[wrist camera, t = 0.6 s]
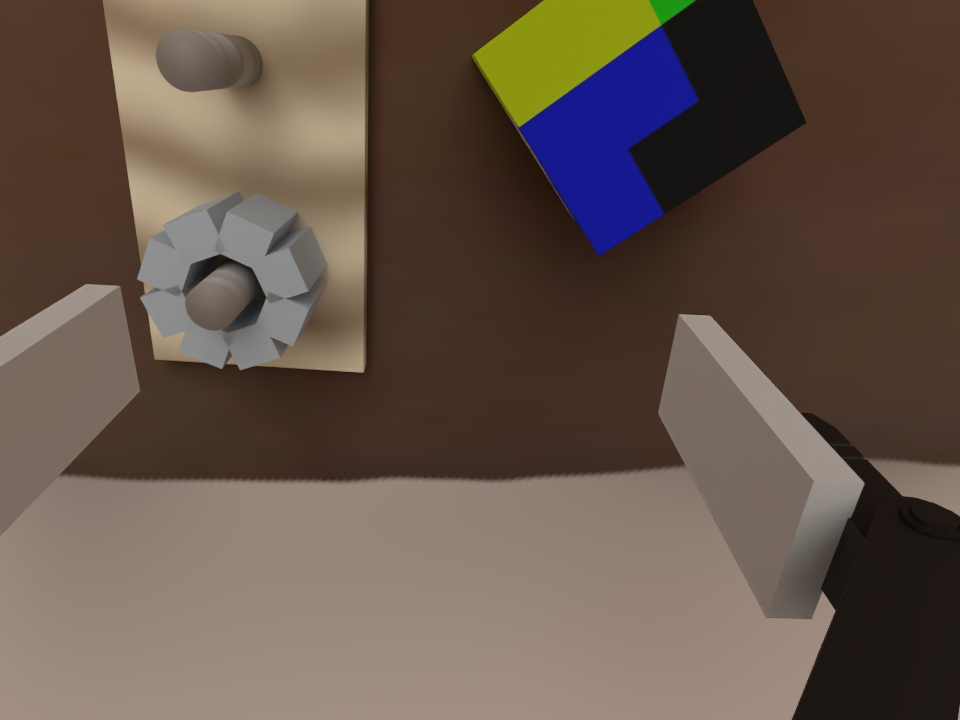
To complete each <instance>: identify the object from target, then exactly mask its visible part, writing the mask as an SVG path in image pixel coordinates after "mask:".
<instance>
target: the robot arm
mask: <svg viewBox="0 0 960 720" xmlns="http://www.w3.org/2000/svg"><path fill="white" fill-rule="evenodd" d="M139 391H140V388H139V383H138V377H137V372H136V367H135V362H134V357H133V351H132V346H131V341H130V336H129V330H128V325H127V320H126V315H125V310H124V304H123V299H122V294H121V289H120V286H110V285H90V284H86V285H84V286H82V287H81V288H79V289H78V290H76V291H74V292H73V293H71V294H69V295H68V296H66V297H64V298H63V299H61V300H59V301H58V302H56V303H55V304H53V305H51V306H50V307H48V308H46V309H45V310H43V311H41V312H40V313H38V314H37V315H35V316H33V317H32V318H30V319H28V320H27V321H25V322H23V323H22V324H20V325H19V326H17V327H15V328H14V329H12V330H10V331H9V332H7V333H5V334H4V335H2V336H1V337H0V536H1V535H2V534H3V533H4V531H5V530H7V528H8V527H9V526H10V525H11V524H12V523H13V522H14V521H15V520H16V519H17V518H18V517H19V516H20V515H21V514H22V513H23V512H24V511H25V510H26V509H27V508H28V507H29V505H31V504H32V502H33V501H34V500H35V499H36V498H37V497H38V496H39V495H40V494H41V493H42V492H43V491H44V490H45V489H46V488H47V487H48V486H49V485H50V484H51V483H52V482H53V481H54V480H55V479H56V478H57V477H58V476H59V474H60V473H61V472H62V471H63V470H64V469H65V468H66V467H67V466H68V465H69V464H70V463H71V462H72V461H73V460H74V459H75V458H76V457H77V456H78V455H79V454H80V453H81V452H82V451H83V450H84V449H85V447H86V446H87V445H88V444H89V443H90V442H91V441H92V440H93V439H94V438H95V437H96V436H97V435H98V434H99V433H100V432H101V431H102V430H103V429H104V428H105V427H106V426H107V425H108V424H109V423H110V422H111V420H112V419H113V418H114V417H115V416H116V415H117V414H118V413H119V412H120V411H121V410H122V409H123V408H124V407H125V406H126V405H127V404H128V403H129V402H130V401H131V400H132V399H133V398H134V397H135V396H136V395H137V393H138V392H139ZM658 414H659V416H660V418H661V420H662V422H663V424H664V425H665V427H666V429H667V431H668V433H669V435H670V437H671V439H672V441H673V442H674V444H675V446H676V448H677V450H678V452H679V454H680V456H681V458H682V459H683V461H684V463H685V465H686V467H687V469H688V471H689V473H690V475H691V476H692V478H693V480H694V482H695V484H696V486H697V488H698V490H699V492H700V493H701V495H702V497H703V499H704V501H705V503H706V505H707V507H708V508H709V510H710V512H711V514H712V516H713V518H714V520H715V522H716V524H717V526H718V527H719V529H720V531H721V533H722V535H723V537H724V539H725V541H726V543H727V544H728V546H729V548H730V550H731V552H732V554H733V556H734V558H735V559H736V561H737V563H738V565H739V567H740V569H741V571H742V573H743V575H744V576H745V578H746V580H747V582H748V584H749V586H750V588H751V590H752V591H753V594H754V595H755V597H756V599H757V601H758V603H759V605H760V607H761V608H762V610H763V612H764V614H765V616H766V618H794V619H812V616H813V614H814V611H815V609H816V606H817V603H818V601H819V599H820V596H821V593H822V591H823V592H824V594H825V595H826V597H827V598H828V600H829V601H830V603H831V604H832V606H833V607H834V609H835V610H836V611H835V614H834V616H833V619H832V621H831V624H830V626H829V628H828V631H827V633H826V636H825V638H824V641H823V643H822V645H821V648H820V650H819V653H818V655H817V658H816V661H815V663H814V666H813V668H812V671H811V673H810V676H809V678H808V681H807V683H806V686H805V688H804V691H803V693H802V696H801V698H800V701H799V703H798V706H797V708H796V711H795V713H794V715H793V718H792V720H958V713H959V706H960V516H958V515H957V514H955V513H954V512H952V511H950V510H948V509H946V508H943V507H941V506H939V505H937V504H935V503H932V502H928V501H925V500H921V499H918V498H913V497H904V496H902V495H901V494H900V493H899V492H898V491H897V490H896V489H895V488H894V487H893V486H892V485H891V484H890V483H889V482H888V481H887V480H886V479H885V478H884V477H883V476H882V475H881V474H880V473H879V472H878V471H877V470H876V469H875V468H874V467H873V466H872V465H871V464H870V463H869V461H868V460H864V459H863V455H862V454H861V453H860V452H859V451H858V450H857V449H856V448H855V447H854V446H851V443H850V442H849V441H848V440H847V439H846V438H845V437H844V436H843V435H842V434H841V433H840V432H839V431H838V430H837V429H836V428H835V427H833V426H832V425H830V424H828V423H827V422H825V421H823V420H822V419H820V418H818V417H817V416H815V415H813V414H812V413H799V411H798V410H797V409H796V408H795V407H794V406H793V405H792V404H791V403H790V402H789V401H788V400H787V398H786V397H785V396H784V395H783V394H782V393H781V392H780V391H779V390H778V389H777V388H776V387H775V385H774V384H773V383H772V382H771V381H770V380H769V379H768V378H767V377H766V376H765V375H764V374H763V372H762V371H761V370H760V369H759V368H758V367H757V366H756V365H755V364H754V363H753V362H752V361H751V359H750V358H749V357H748V356H747V355H746V354H745V353H744V352H743V351H742V350H741V349H740V347H739V346H738V345H737V344H736V343H735V342H734V341H733V340H732V339H731V338H730V337H729V336H728V334H727V333H726V332H725V331H724V330H723V329H722V328H721V327H720V326H719V325H718V324H717V323H716V321H715V320H714V319H713V318H712V317H711V316H705V315H685V314H679V316H678V321H677V326H676V330H675V335H674V340H673V345H672V350H671V354H670V359H669V364H668V369H667V373H666V378H665V383H664V388H663V393H662V397H661V402H660V407H659V412H658Z"/></svg>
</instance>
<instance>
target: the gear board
mask: <svg viewBox="0 0 960 720" xmlns="http://www.w3.org/2000/svg"><path fill="white" fill-rule="evenodd" d="M103 5H104V12H105V19H106V26H107V33H108V40H109V47H110V54H111V61H112V68H113V74H114V81H115V88H116V95H117V102H118V109H119V116H120V123H121V130H122V137H123V144H124V150H125V157H126V164H127V171H128V178H129V185H130V192H131V199H132V206H133V213H134V219H135V226H136V233H137V240H138V247H139V254H140V261H141V265H142V262H143V258H144V255H145V252H146V248H147V245H148V242H149V239H150V238H151V237H152V236H154V235H156V234H158V233H160V232H161V231H163V230H165V229H164V227H163V224H165V223H167V222H169V221H171V220H173V219H175V218H176V217H178V216H180V215H182V214H184V213H186V212H188V211H190V210H191V209H193V208H195V207H197V206H199V205H201V204H204V203H207V202H210V201H212V200H215V199H218V198H221V197H224V196H227V195H230V194H233V193H236V192H238V191H239V192H240V195H241V197H242V199H243V201H245V200H246V199H248V198H249V197H251V196H253V195H254V194H256V193H259V194H261V195H263V196H265V197H267V198H269V199H271V200H273V201H275V202H277V203H280V204H282V205H284V206H286V207H288V208H290V209H292V210H294V211H296V212H297V215H296V217H295V220H294V223H293V225H292V228H291V230H290V232H292V231H295V230H298V229H301V228H304V227H307V226H310V225H311V228H312V230H313V232H314V235H315V237H316V239H317V241H318V244H319V246H320V248H321V251H322V253H323V255H324V257H325V260H326V262H327V265H326V267H325V268H324V269H323V271H322V272H321V274H320V275H319V276H320V277H322V278H324V279H326V280H327V283H326V285H325V287H324V290H323V292H322V294H321V297H320V299H319V301H318V304H317V306H316V308H315V311H314V313H313V315H312V316H311V318H310V320H309V321H308V323H307V325H306V326H305V328H304V330H303V331H302V333H301V335H300V336H299V338H298V340H297V341H296V343H295V345H294V346H290V345H288V347H287V348H286V350H285V351H284V353H283V355H282V356H281V358H278V359H275V360H272V361H268V362H265V363H262V364H259V365H256V366H267V367H283V368H299V369H315V370H330V371H346V372H362V373H364V370H365V367H366V328H367V197H368V66H369V0H103ZM216 265H217V267H218V268H217V269H216V270H215V271H213V272H212V273H211V274H210V275H209V276H207V277H206V278H205V279H204V280H203V281H201V282H200V283H199V284H198V285H197V286H195V287H194V288H193V289H192V290H191V291H190V292H189V293H188V295H187V297H186V300H185V307H186V311H187V313H188V315H189V317H190V318H191V320H192V321H193V322H194V323H195V324H197V325H198V326H200V327H202V328H204V329H207V330H212V331H216V330H222V329H224V328H226V327H228V326H229V325H230V324H231V323H232V322H233V321H234V320H235V318H236V317H237V316H238V315H239V314H240V313H241V312H242V311H243V310H244V308H245V307H246V306H247V305H248V304H249V303H250V302H251V301H252V300H254V301H258V300H261V299H264V298H267V297H266V295H265V293H264V291H263V289H262V287H261V285H260V283H259V281H258V279H257V277H256V275H255V273H254V271H253V269H252V268H251V267H248V266H246V265H244V264H242V263H240V262H237V261H235V260H233V259H231V258H229V257H226V256H224V255H222V254H219V256H218V259H217V262H216ZM153 288H154V286H151V285H149V284H147V283H144V289H145V294H146V293H147V292H149V291H150V290H151V289H153ZM148 316H149V323H150V330H151V337H152V344H153V351H154V358H155V359H157V360H172V361H188V362H203V361H201V360H199V359H196V358H194V357H191V356H189V355H186V354H184V353H182V352H179V348H180V345H181V342H182V339H183V337H184V334H185V331H184V332H181V333H178V334H175V335H172V336H169V337H166V338H163V337H162V335H161V333H160V332H159V330H158V328H157V326H156V325H155V323H154V321H153V320H152V318H151V316H150V314H149V313H148ZM204 363H206V362H204ZM226 364H236V365H237V363H236V361H235V359H234V358H233V356H232V357H231V358H230V359H229V361H228V362H227V363H226Z"/></svg>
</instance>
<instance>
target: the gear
mask: <svg viewBox="0 0 960 720" xmlns="http://www.w3.org/2000/svg"><path fill="white" fill-rule="evenodd" d="M296 215H297V212H296V211H294V210H292V209H290V208H288V207H286V206H284V205H282V204H280V203H277V202H275V201H273V200H271V199H269V198H267V197H265V196H263V195H261V194H259V193H256V194H254V195H253V196H251V197H249V198H248V199H246V200H245V201H243V199H242V197H241V195H240V192H239V191H238V192H236V193H233V194H230V195H227V196H224V197H221V198H218V199H215V200H212V201H210V202H207V203H204V204H201V205H199V206H197V207H195V208H193V209H191V210H190V211H188V212H186V213H184V214H182V215H180V216H178V217H176V218H175V219H173V220H171V221H169V222H167V223H165V224H163V227H164V229H165V230H163V231H161V232H160V233H158V234H156V235H154V236H152V237H151V238H150V239H149V242H148V245H147V248H146V252H145V255H144V258H143V262H142V265H141V268H140V272H139V275H138V278H137V280H140V281H142V282H144V283H147V284H149V285H151V286H154V288H153V289H151V290H150V291H149V292H147V293H146V294H144V295H143V296H142V297H140V299H141V301H142V302H143V304H144V306H145V307H146V309H147V311H148V313H149V314H150V316H151V318H152V320H153V321H154V323H155V325H156V326H157V328H158V330H159V332H160V333H161V335H162V337H163V338H166V337H169V336H172V335H175V334H178V333H181V332H184V331H185V334H184V337H183V339H182V342H181V345H180V348H179V352H182V353H184V354H186V355H189V356H191V357H194V358H196V359H199V360H201V361H203V362H206V363H208V364H211V365H213V366H215V367H218V368H220V369H222V368H223V367H224V366H225V364H226V363H227V362H228V361H229V359H230V358H231V357H232V356H233V358H234V359H235V361H236V363H237V365H238V367H239V369H240V370H243V369H246V368H249V367H252V366H256V365H259V364H262V363H265V362H268V361H272V360H275V359H278V358H281V356H282V355H283V353H284V351H285V350H286V348H287V347H288V345H290V346H294V345H295V343H296V341H297V340H298V338H299V336H300V335H301V333H302V331H303V330H304V328H305V326H306V325H307V323H308V321H309V320H310V318H311V316H312V315H313V313H314V311H315V308H316V306H317V304H318V301H319V299H320V297H321V294H322V292H323V290H324V287H325V285H326V283H327V280H326V279H324V278H322V277H320V276H319V275H320V274H321V272H322V271H323V269H324V268H325V267H326V265H327V262H326V260H325V257H324V255H323V253H322V251H321V248H320V246H319V244H318V241H317V239H316V237H315V235H314V232H313V230H312V228H311V225H310V226H307V227H304V228H301V229H298V230H295V231H292V232H290V230H291V228H292V225H293V223H294V220H295V217H296ZM219 254H222V255H224V256H226V257H229V258H231V259H233V260H235V261H237V262H240V263H242V264H244V265H246V266H248V267H251V268H252V269H253V271H254V273H255V275H256V277H257V279H258V281H259V283H260V285H261V287H262V289H263V291H264V293H265V295H266V297H267V298H264V299H261V300H258V301H254V300H252V301H251V302H250V303H249V304H248V305H247V306H246V307H245V308H244V310H243V311H242V312H241V313H240V314H239V315H238V316H237V317H236V318H235V320H234V321H233V322H232V323H231V324H230V325H229V326H228V327H226V328H224V329H222V330H216V331H212V330H207V329H204V328H202V327H200V326H198V325H197V324H195V323H194V322H193V321H192V320H191V318H190V317H189V315H188V313H187V311H186V307H185V300H186V297H187V295H188V293H189V292H190V291H191V290H192V289H193V288H194V287H195V286H197V285H198V284H199V283H200V282H201V281H203V280H204V279H205V278H206V277H207V276H209V275H210V274H211V273H212V272H213V271H215V270H216V269H217V268H218V267H217V265H216V262H217V259H218V256H219Z"/></svg>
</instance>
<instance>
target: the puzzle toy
mask: <svg viewBox="0 0 960 720" xmlns="http://www.w3.org/2000/svg"><path fill="white" fill-rule="evenodd" d="M471 57H472V59H473V60H474V62H475V64H476V65H477V67H478V68H479V70H480V71H481V73H482V75H483V76H484V78H485V79H486V81H487V83H488V84H489V86H490V87H491V89H492V91H493V92H494V94H495V95H496V97H497V99H498V100H499V102H500V103H501V105H502V107H503V108H504V110H505V111H506V113H507V115H508V116H509V118H510V119H511V121H512V123H513V124H514V126H515V127H516V129H517V131H518V132H519V134H520V135H521V137H522V139H523V140H524V142H525V143H526V145H527V147H528V148H529V150H530V151H531V153H532V155H533V156H534V158H535V159H536V161H537V163H538V164H539V166H540V167H541V169H542V171H543V172H544V174H545V175H546V177H547V179H548V180H549V182H550V183H551V185H552V186H553V188H554V190H555V191H556V193H557V194H558V196H559V198H560V199H561V201H562V202H563V204H564V206H565V207H566V209H567V210H568V212H569V213H570V215H571V216H572V218H573V219H574V221H575V222H576V223H577V225H578V226H579V228H580V229H581V231H582V232H583V233H584V235H585V236H586V238H587V239H588V241H589V242H590V244H591V245H592V246H593V248H594V249H595V251H596V252H597V254H598V255H599V256H600V255H602V254H603V253H605V252H606V251H608V250H609V249H611V248H613V247H614V246H616V245H617V244H619V243H620V242H622V241H623V240H625V239H627V238H628V237H630V236H631V235H633V234H634V233H636V232H637V231H639V230H641V229H642V228H644V227H645V226H647V225H648V224H650V223H651V222H653V221H655V220H656V219H658V218H659V217H661V216H662V215H664V214H665V213H667V212H669V211H670V210H672V209H673V208H675V207H676V206H678V205H679V204H681V203H682V202H684V201H686V200H687V199H689V198H690V197H692V196H693V195H695V194H696V193H698V192H700V191H701V190H703V189H704V188H706V187H707V186H709V185H710V184H712V183H714V182H715V181H717V180H718V179H720V178H721V177H723V176H724V175H726V174H728V173H729V172H731V171H732V170H734V169H735V168H737V167H738V166H740V165H742V164H743V163H745V162H746V161H748V160H749V159H751V158H752V157H754V156H756V155H757V154H759V153H760V152H762V151H763V150H765V149H766V148H768V147H769V146H771V145H773V144H774V143H776V142H777V141H779V140H780V139H782V138H783V137H785V136H787V135H788V134H790V133H791V132H793V131H794V130H796V129H797V128H799V127H801V126H802V125H804V124H805V123H806V121H805V119H804V116H803V114H802V112H801V110H800V107H799V105H798V103H797V100H796V98H795V96H794V94H793V91H792V89H791V87H790V84H789V82H788V80H787V78H786V75H785V73H784V71H783V69H782V66H781V64H780V62H779V59H778V57H777V55H776V53H775V50H774V48H773V46H772V43H771V41H770V39H769V37H768V34H767V32H766V30H765V27H764V25H763V23H762V21H761V18H760V16H759V14H758V11H757V9H756V7H755V5H754V2H753V0H544V1H542V2H541V3H540V4H539V5H537V6H536V7H535V8H533V9H532V10H531V11H529V12H528V13H527V14H525V15H524V16H523V17H522V18H520V19H519V20H518V21H516V22H515V23H514V24H512V25H511V26H510V27H508V28H507V29H506V30H504V31H503V32H502V33H501V34H499V35H498V36H497V37H495V38H494V39H493V40H491V41H490V42H489V43H487V44H486V45H485V46H484V47H482V48H481V49H480V50H478V51H477V52H476V53H474V54H473V55H472V56H471Z"/></svg>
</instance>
